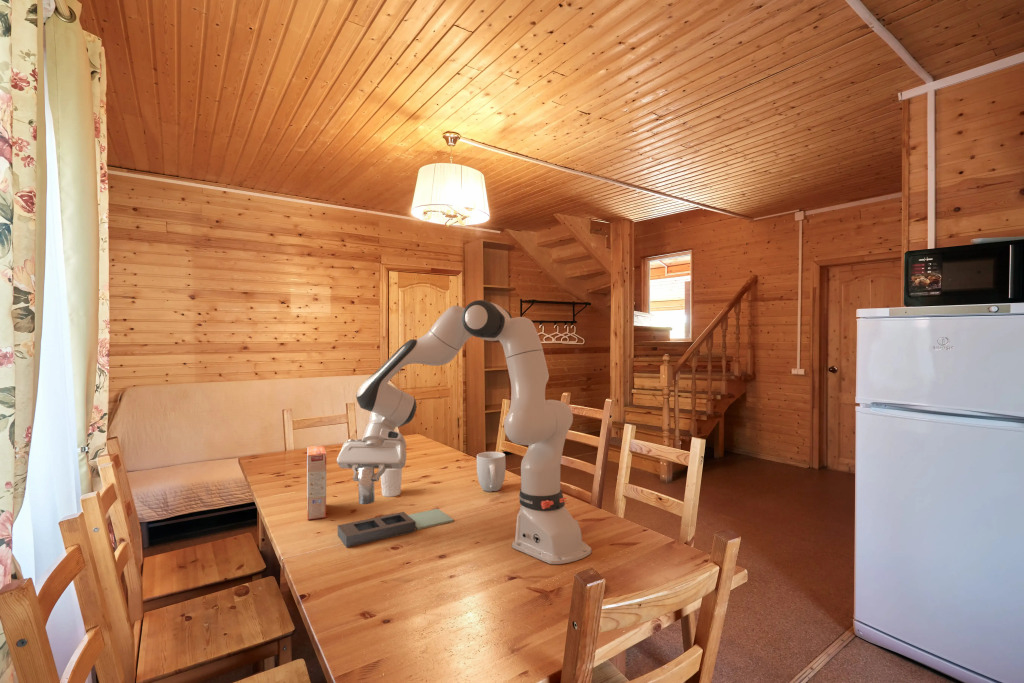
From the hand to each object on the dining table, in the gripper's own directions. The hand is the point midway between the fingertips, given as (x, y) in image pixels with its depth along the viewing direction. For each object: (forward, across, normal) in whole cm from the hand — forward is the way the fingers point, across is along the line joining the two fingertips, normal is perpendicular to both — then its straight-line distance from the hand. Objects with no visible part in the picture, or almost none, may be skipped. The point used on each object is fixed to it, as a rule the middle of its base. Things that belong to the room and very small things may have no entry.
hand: (365, 480), depth 141 cm
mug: (-21, +30, +44) cm, 58 cm away
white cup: (-16, -6, +39) cm, 43 cm away
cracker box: (-2, -24, +25) cm, 35 cm away
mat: (+1, +14, +22) cm, 26 cm away
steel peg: (+4, 0, +5) cm, 6 cm away
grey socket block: (+10, +2, +14) cm, 17 cm away
